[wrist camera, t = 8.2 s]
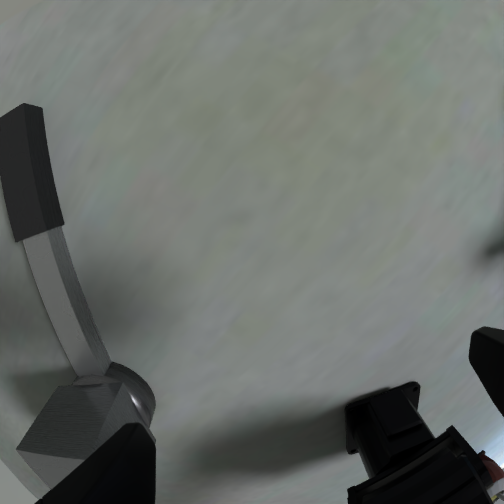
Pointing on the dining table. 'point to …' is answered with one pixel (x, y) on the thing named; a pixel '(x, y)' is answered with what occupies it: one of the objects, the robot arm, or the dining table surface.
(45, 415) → the grey bevelled cube
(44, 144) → the ratchet
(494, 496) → the mate gourd
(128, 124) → the dining table surface
